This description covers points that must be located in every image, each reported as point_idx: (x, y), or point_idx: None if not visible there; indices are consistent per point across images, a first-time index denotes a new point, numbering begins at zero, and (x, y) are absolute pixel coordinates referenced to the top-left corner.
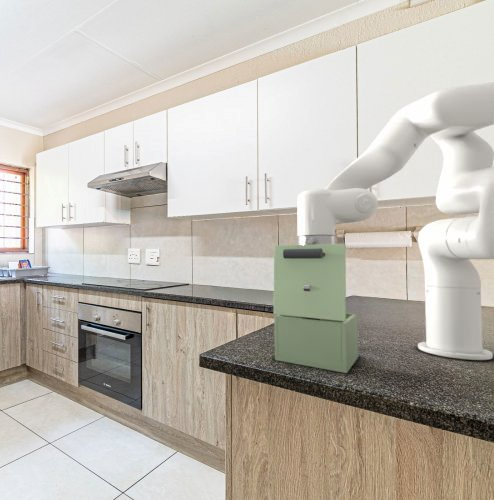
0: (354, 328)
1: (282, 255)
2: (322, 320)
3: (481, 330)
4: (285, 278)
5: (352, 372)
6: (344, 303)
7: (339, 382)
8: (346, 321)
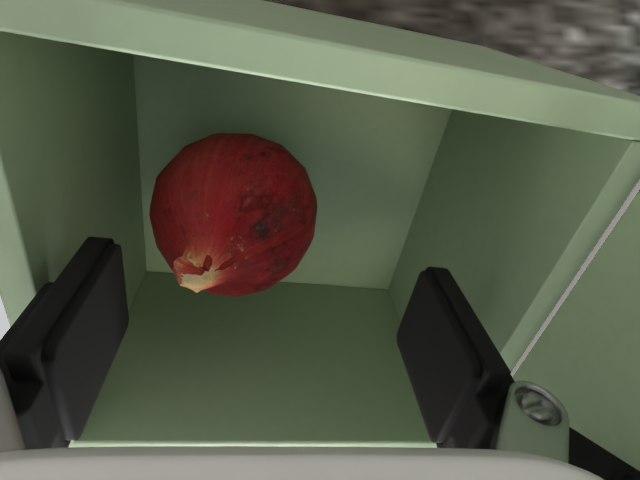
0: (222, 7)
1: None
2: (213, 257)
3: None
4: None
5: (456, 19)
6: None
7: (609, 76)
8: (577, 104)
